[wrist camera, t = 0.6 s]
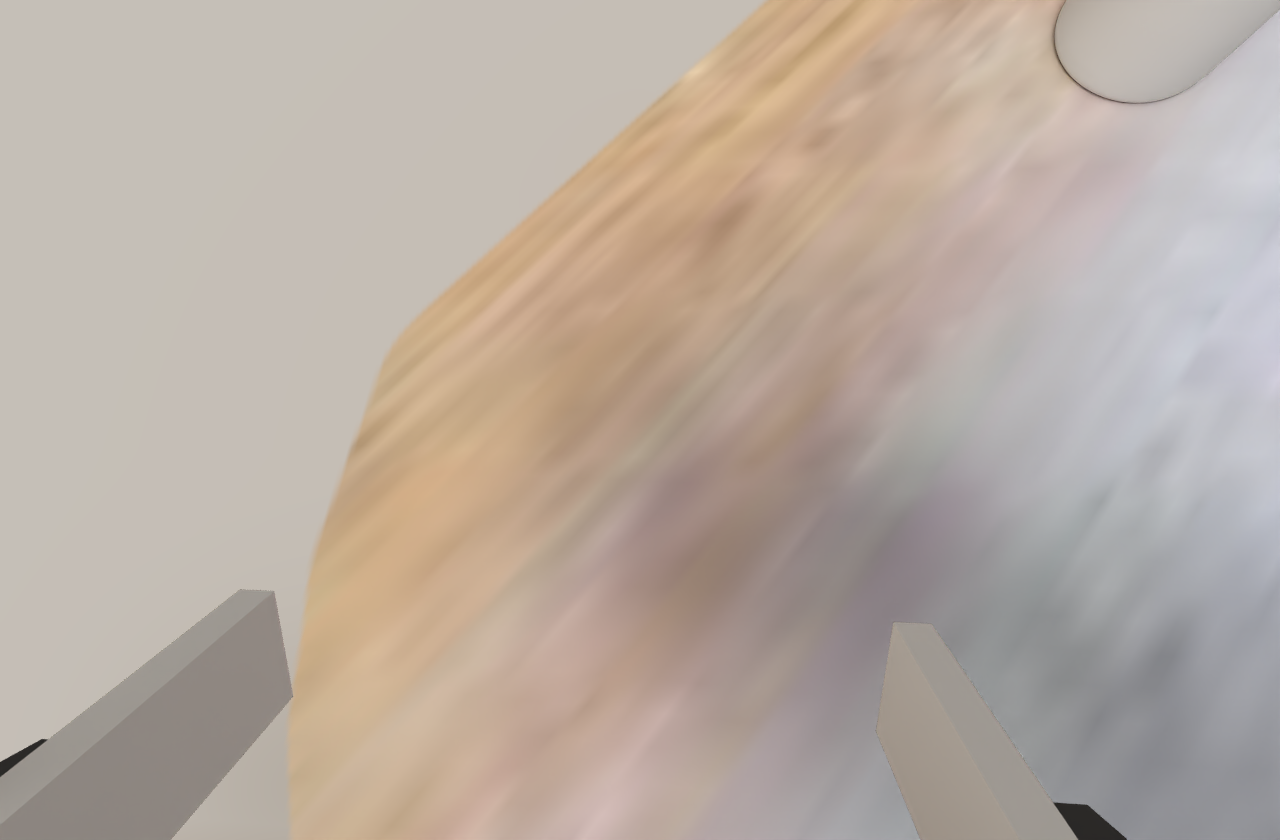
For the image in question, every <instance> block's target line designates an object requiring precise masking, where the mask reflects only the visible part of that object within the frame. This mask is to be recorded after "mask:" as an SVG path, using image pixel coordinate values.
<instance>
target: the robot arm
mask: <svg viewBox="0 0 1280 840" xmlns="http://www.w3.org/2000/svg"><path fill="white" fill-rule="evenodd" d="M292 697H293V693H292V687H291V682H290V676H289V670H288V665H287V659H286V654H285V648H284V643H283V637H282V632H281V626H280V621H279V615H278V609H277V605H276V599H275V593H274V591H261V590H242V589H240V590H239V591H237V592H236V593H235V594H234V595H232V596H231V597H230V598H228V599H227V600H226V601H225V602H223V603H222V604H221V605H220V606H218V607H217V608H216V609H214V610H213V611H212V612H211V613H209V614H208V615H207V616H205V617H204V618H203V619H202V620H201V621H199V622H198V623H197V624H195V625H194V626H193V627H191V628H190V629H189V630H188V631H186V632H185V633H184V634H182V635H181V636H180V637H179V638H177V639H176V640H175V641H174V642H172V643H171V644H170V645H169V646H167V647H166V648H165V649H163V650H162V651H161V652H159V653H158V654H157V655H156V656H154V657H153V658H152V659H151V660H149V661H148V662H147V663H145V664H144V665H143V666H142V667H140V668H139V669H138V670H136V671H135V672H134V673H133V674H131V675H130V676H129V677H128V678H126V679H125V680H124V681H122V682H121V683H120V684H119V685H117V686H116V687H115V688H113V689H112V690H111V691H110V692H108V693H107V694H106V695H105V696H104V697H102V698H101V699H99V700H98V701H97V702H96V703H94V704H93V705H92V706H90V708H88V709H87V710H85V711H84V712H83V713H82V714H80V715H79V716H78V717H76V718H75V719H74V720H73V721H71V722H70V723H69V724H68V725H66V726H65V727H64V728H62V729H61V730H60V731H59V732H57V733H56V734H55V735H53V736H52V737H51V738H50V739H41V740H39V741H38V742H36V743H34V744H32V745H30V746H29V747H27V748H25V749H23V750H21V751H19V752H18V753H16V754H14V755H12V756H10V757H9V758H7V759H5V760H3V761H1V762H0V840H171V839H172V838H173V837H174V835H175V834H176V833H177V832H178V831H179V830H180V828H181V827H182V826H183V825H184V824H185V823H186V821H187V820H188V819H189V818H190V817H191V816H192V814H193V813H194V812H195V811H196V810H197V808H198V807H199V806H200V805H201V804H202V803H203V801H204V800H205V799H206V798H207V797H208V796H209V794H210V793H211V792H212V791H213V790H214V789H215V787H216V786H217V785H218V784H219V783H220V782H221V780H222V779H223V778H224V777H225V776H226V774H227V773H228V772H229V771H230V770H231V769H232V767H233V766H234V765H235V764H236V763H237V762H238V760H239V759H240V758H241V757H242V756H243V755H244V753H245V752H246V751H247V750H248V749H249V748H250V746H251V745H252V744H253V743H254V742H255V741H256V739H257V738H258V737H259V736H260V735H261V733H262V732H263V731H264V730H265V729H266V728H267V727H268V725H269V724H270V723H271V722H272V721H273V719H274V718H275V717H276V716H277V715H278V713H280V711H281V710H282V709H283V708H284V707H285V705H286V704H287V703H288V702H289V701H290V700H291V698H292ZM876 733H877V735H878V737H879V740H880V742H881V745H882V747H883V750H884V752H885V754H886V757H887V759H888V762H889V764H890V767H891V769H892V771H893V774H894V776H895V779H896V781H897V783H898V786H899V788H900V791H901V793H902V796H903V798H904V800H905V803H906V805H907V808H908V810H909V813H910V815H911V817H912V820H913V822H914V825H915V827H916V830H917V832H918V834H919V837H920V839H921V840H1127V839H1126V838H1125V837H1124V836H1123V835H1122V834H1120V833H1119V832H1118V831H1117V830H1116V829H1115V828H1113V827H1112V826H1111V825H1110V824H1109V823H1108V822H1107V821H1105V820H1104V819H1103V818H1102V817H1101V816H1100V815H1098V814H1097V813H1096V812H1095V811H1094V810H1093V809H1091V808H1090V807H1089V806H1088V805H1082V804H1067V803H1053V802H1052V800H1051V799H1050V797H1049V796H1048V794H1047V793H1046V792H1045V790H1044V789H1043V787H1042V786H1041V784H1040V783H1039V781H1038V780H1037V778H1036V777H1035V775H1034V774H1033V772H1032V771H1031V769H1030V768H1029V766H1028V765H1027V764H1026V762H1025V761H1024V759H1023V758H1022V756H1021V755H1020V753H1019V752H1018V750H1017V749H1016V747H1015V746H1014V744H1013V743H1012V741H1011V740H1010V738H1009V737H1008V736H1007V734H1006V733H1005V731H1004V730H1003V728H1002V727H1001V725H1000V724H999V722H998V721H997V719H996V718H995V716H994V715H993V713H992V712H991V710H990V709H989V708H988V706H987V705H986V703H985V702H984V700H983V699H982V697H981V696H980V694H979V693H978V691H977V690H976V688H975V687H974V685H973V684H972V682H971V681H970V680H969V678H968V677H967V675H966V674H965V672H964V671H963V669H962V668H961V666H960V665H959V663H958V662H957V660H956V659H955V657H954V656H953V654H952V653H951V652H950V650H949V649H948V647H947V646H946V644H945V643H944V641H943V640H942V638H941V637H940V635H939V634H938V632H937V631H936V629H935V628H934V626H933V625H932V624H924V623H904V622H893V628H892V634H891V640H890V646H889V653H888V659H887V665H886V671H885V677H884V684H883V690H882V696H881V702H880V709H879V715H878V721H877V727H876Z"/></svg>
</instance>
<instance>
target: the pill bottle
mask: <svg viewBox="0 0 1280 840" xmlns="http://www.w3.org/2000/svg"><path fill="white" fill-rule="evenodd" d="M1279 10H1280V0H1066V2H1065V4H1064V5H1063V7H1062V9H1061V11H1060V14H1059V16H1058V19H1057V23H1056V28H1055V46H1056V51H1057V54H1058V57H1059V59H1060V61H1061V63H1062V65H1063V67H1064V68H1065V70H1066V71H1067V72H1068V73H1069V75H1070V76H1071V77H1072V78H1073V79H1074V80H1075V81H1076V82H1078V83H1079V84H1080V85H1081V86H1083V87H1084V88H1086V89H1087V90H1089V91H1091V92H1093V93H1095V94H1097V95H1099V96H1102V97H1105V98H1108V99H1111V100H1115V101H1120V102H1128V103H1145V102H1153V101H1158V100H1162V99H1165V98H1168V97H1171V96H1174V95H1176V94H1179V93H1181V92H1183V91H1184V90H1186V89H1188V88H1190V87H1191V86H1193V85H1194V84H1196V83H1197V82H1198V81H1200V80H1201V79H1202V78H1203V77H1205V76H1206V75H1208V74H1209V73H1210V72H1211V71H1212V70H1213V69H1215V68H1216V67H1217V66H1218V65H1219V64H1220V63H1221V62H1222V61H1223V60H1225V59H1226V58H1227V57H1228V56H1229V55H1230V54H1231V53H1232V52H1233V51H1234V50H1236V49H1237V48H1238V47H1239V46H1240V45H1241V44H1242V43H1243V42H1244V41H1246V40H1247V39H1248V38H1249V37H1250V36H1251V35H1252V34H1253V33H1254V32H1256V31H1257V30H1258V29H1259V28H1260V27H1261V26H1262V25H1263V24H1264V23H1266V22H1267V21H1268V20H1269V19H1270V18H1271V17H1272V16H1273V15H1274V14H1276V13H1277V12H1278V11H1279Z"/></svg>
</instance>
